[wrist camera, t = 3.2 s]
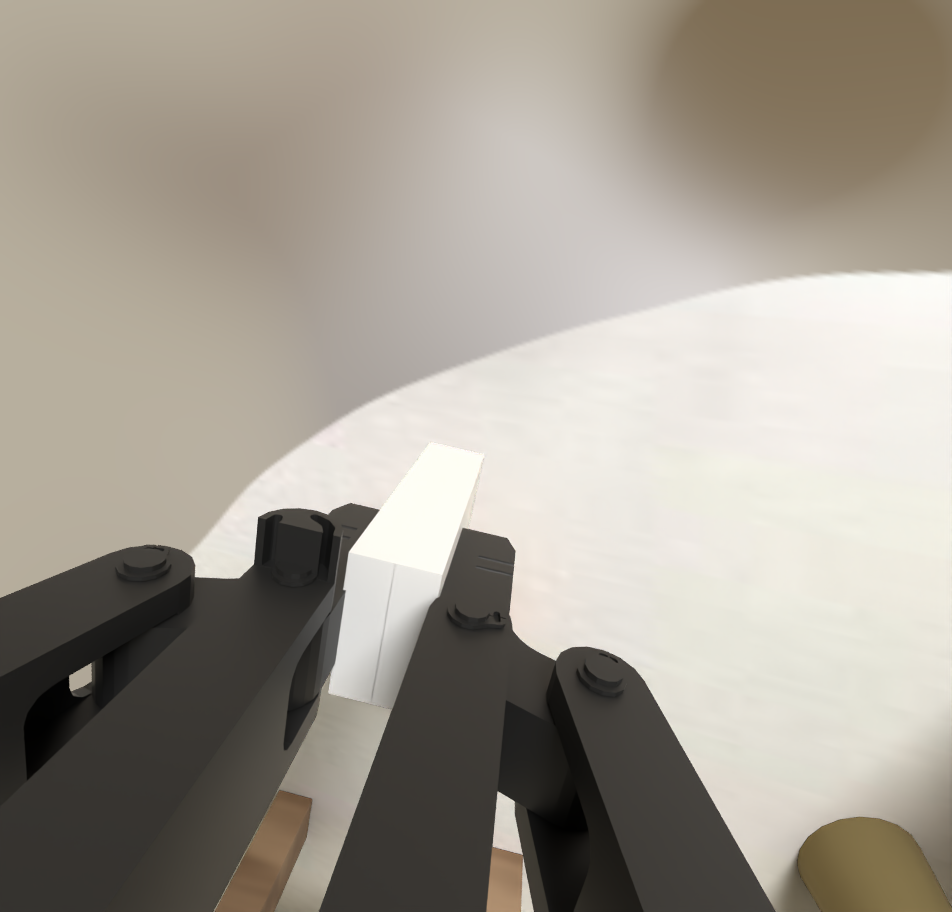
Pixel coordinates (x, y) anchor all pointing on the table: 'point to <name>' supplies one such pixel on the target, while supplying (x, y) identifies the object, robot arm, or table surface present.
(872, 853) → the cork
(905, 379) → the table surface
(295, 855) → the bridge
